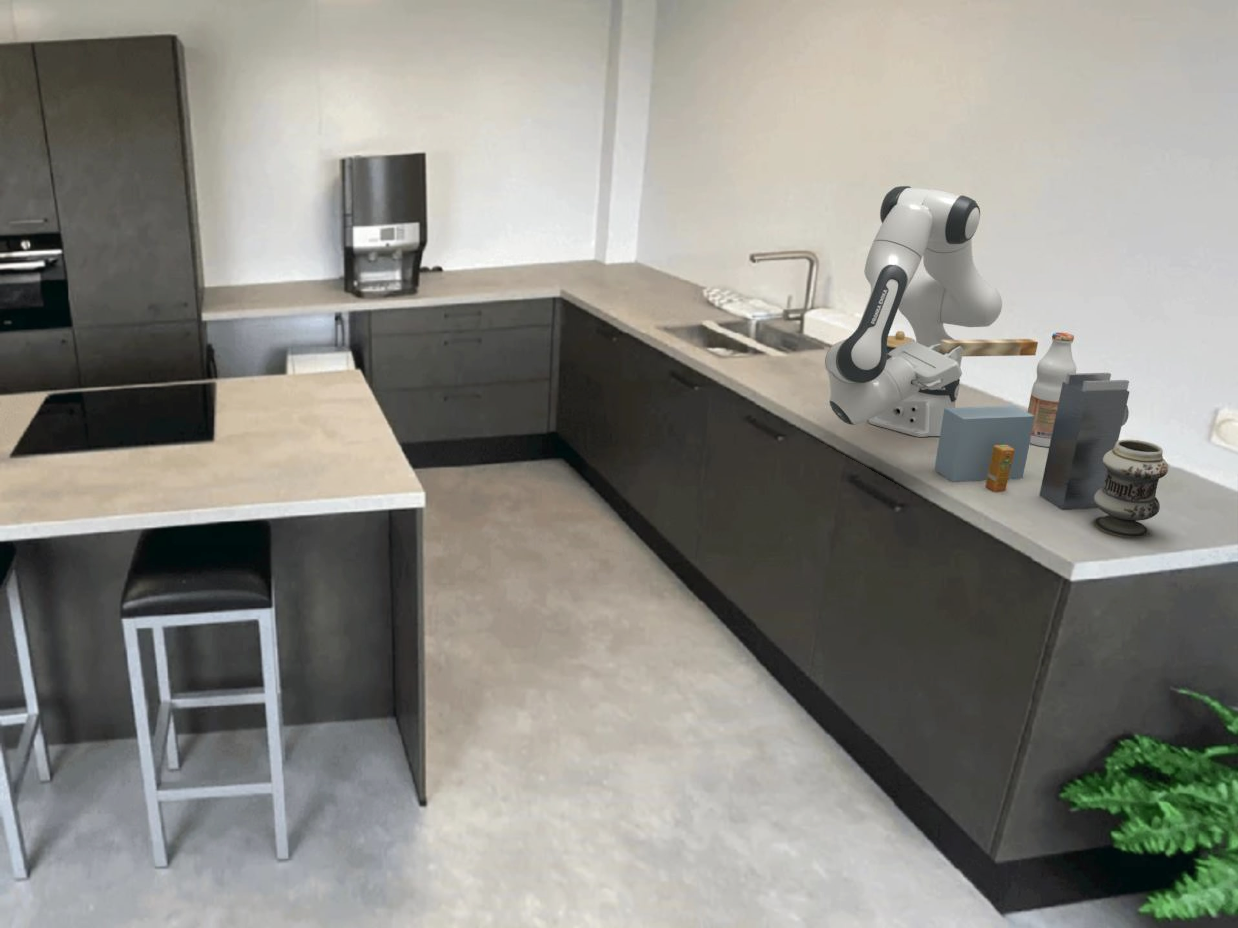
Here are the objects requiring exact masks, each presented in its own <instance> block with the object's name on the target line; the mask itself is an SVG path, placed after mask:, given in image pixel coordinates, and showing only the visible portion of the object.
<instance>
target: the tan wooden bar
mask: <svg viewBox="0 0 1238 928" xmlns="http://www.w3.org/2000/svg"><path fill="white" fill-rule="evenodd" d="M1038 344H1039V342H1038V341H1035V340H1033V339H1030V338H1013V339H1012V338H1010V339H1009V338H1008V339H1007V338H1002V339H1001V338H998V339H997V338H994V339H989V338H987V339H985V338H984V339H954V340H941V345H940V351H939V353H940V354H942V355H945V354H949V353H950V352H951V351H952V349H951V348H953V347H955V346H957V345H958V346H961V347H962V348H963V351H964V353H963V354H962V355H960V356H958V357H962V358H964V357H1015V356H1016V357H1018V356H1020V357H1021V356H1022V357H1023V356H1024V357H1026V356H1036V353H1037V351H1038V350H1037V349H1038Z"/></svg>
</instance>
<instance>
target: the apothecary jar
mask: <svg viewBox="0 0 1238 928" xmlns="http://www.w3.org/2000/svg"><path fill="white" fill-rule="evenodd" d="M1163 452H1164V450H1163V448H1162V447H1161V446H1159V445H1158V444H1155V443H1152V442H1148V441H1145V440H1140V439H1139V440H1138V439H1120V440H1119V439H1118V441H1117V442H1116V444H1115V447H1114V449H1113V450H1110V451H1109V452H1107V453H1106V454H1105V455H1104V457H1103V463H1104V465H1105V467H1106V468H1107V474H1106V479H1105V483H1104V486H1103V488H1101V489H1100V490H1098V491H1097V492H1096V494H1095V496H1094V501H1095V503H1096V505H1097V506H1098V509H1099V510H1100V511H1101V512H1103V513H1104V514H1105V515H1106V516H1105V515H1104V516H1099V517H1097V518H1096V519H1095V520H1094V525H1095V526H1096V527H1097V529H1100V530H1101V531H1102V532H1105V533H1107V534H1109V535H1110V534H1111V535H1114V536H1117V537H1123V538H1133V539H1135V538H1143V537H1145V536H1146V535H1148V528H1147V527H1146V526H1145V525H1144V524H1143V523H1141V522H1139V521H1145V520H1149V519H1151V518H1153V517H1155V516H1156V515H1158V513H1159V512H1160V509H1161V506H1160V502H1159V499H1158V498H1157V497H1156V493H1157V488H1158V483H1159V481H1160V479H1162V478H1163V477H1165V476H1166V475H1167V473H1168V472H1169V465H1168V462H1167V461H1166V459H1164V455H1163V454H1164V453H1163Z"/></svg>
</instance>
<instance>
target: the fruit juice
mask: <svg viewBox="0 0 1238 928" xmlns="http://www.w3.org/2000/svg"><path fill="white" fill-rule="evenodd" d="M1074 339H1075V336H1074V335H1073V334H1071V333H1067V332H1053V334H1052V336H1051V341H1052V342H1051V345H1050V346H1049V349H1048V350H1047V351H1046V353H1045V355H1044V356H1043V357H1042V358H1041V359H1040V360H1039V361H1038V362H1037V365H1036V379H1035V381H1034V382H1033V385H1032V388H1031V392H1030V396H1029V397H1030V398H1029V401H1028V407H1027V412H1028V413H1030V414H1032V415H1033V416H1035V419H1034V424H1033V429H1032V434H1031V439H1030V444H1032V445H1033V446H1038V447H1045V448H1049V446H1050V441H1051V436H1052V432H1053V427H1054V422H1055V417H1056V412H1057V408H1058V403H1059V398H1060V393H1061V388H1062V383H1063V382H1065V381H1066V376H1067V374H1077V365H1076V363H1075V361H1074V359H1073V354H1072V353H1073V352H1072V344H1073V343H1074V341H1075V340H1074Z"/></svg>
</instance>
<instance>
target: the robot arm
mask: <svg viewBox="0 0 1238 928" xmlns="http://www.w3.org/2000/svg"><path fill="white" fill-rule="evenodd" d="M879 217H880V218H879V219H880V221H881V225H880V227H879V228H878V231H877V233H876V235H875V237H874V239H873V241H872V244H871V246H870V248H869V251H868V255H867V258H866V261H865V264H864V276H865V278H866V280H867V282H868V283H869V284H870V294H869V298H868V300H867V303H866V305H865V308H864V311H863V314H862V316H861V319H860V321H859V324H858V326H857V328H856V329H855V330H854V332H853V333H852V334H851V335H850V336H849V337H847V338H846V339H843V340H841V341H838V342H836V343H834V344H833V345H831V347H830V348H829V349H828V350H827V352H826V354H825V357H824V358H825V359H824V365H825V369H826V371H827V374H828V379H829V386H830V398H829V405H830V407H831V410H832V411H833V412H834V414H835V415H836V417H838V419H840V420H841V421H842V422H843V423H845V424H847V425H851V426H856V425H860V424H862V423H865V422H868V423H869V424H870V425H874V426H877V427H880V428H885V429H889V430H892V431H895V432H900V433H903V434H907V435H910V436H913V437H917V438H918V437H919V438H925V437H940V432H941V426H942V420H943V414H944V408H956V401H957V399H958V396H959V390H960V385H961V384H960V382H961V381H960V380H961V379H960V378H961V377H962V375H963V372H962V369H961V367H962V366H961V365H962V360H963V357H958V356H960V355H962V354H963V353H964V351H963V348H962V347H961V346H958V345H957V346H955V347H953V348H951V349H952V351H951V352H950V353H949V354H945V355H942V354H940V353H939V351H940V345H941V340H955V338H953V337H951V336H950V335H949V334H948V333H947V331H946V330H945V327H944V324H945V325H951V326H952V325H953V326H959V327H965V328H984V327H990V326H991V325H992V324H994V322H996V321H997V319H998V318H999V316H1000V314H1001V312H1002V307H1003V301H1002V300H1003V299H1002V297H1001V294H1000V292H999V290H998V289H997V288H996V287H994V286H992V285H991V284H990V283H988V281H987V280H985V279H984V278H983V277H982V276H981V274H980V272H979V271H978V270H977V268H976V265H975V263H974V259H973V250H972V249H973V247H972V243H973V241H972V240H973V236H975V234H976V232H977V229H978V227H979V223H980V219H981V208H980V206H979V205H978V203H977V201H976V200H974V199H973V198H971V197H969V196H966V195H962V194H961V195H958V194H955V193H952V192H949V191H945V190H940V189H930V188H923V187H922V188H921V187H920V188H919V187H911V186H909V185H907V186H906V185H903V186H895V187H894V188H892V189H891V190H890V191H889V192H887V193H886V195H885V196H884V198H883V200H882V203H881V206H880V212H879ZM922 260H923V267H924V269H925V271H926V273H927V274H928V275H929V276H928V275H927V276H926V275H924V276H921V275H919V276H915V274H916V272H917V270H918V268H919V266H920V264H921V261H922ZM898 310H899V312H900V313H901V315H903V317H905V318H906V320H907V321H908V323H909V324H910V326H911V328H912V330H913V333H914V336H915V341H911V342H907V343H905V344H903V345H901V346H899V347H897V348H895V349H893V350H892V351H890V352H889V354H887V339H888V336H890V331H891V328H892V326H893V323H894V321H895V318H896V315H897V313H898Z"/></svg>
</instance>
